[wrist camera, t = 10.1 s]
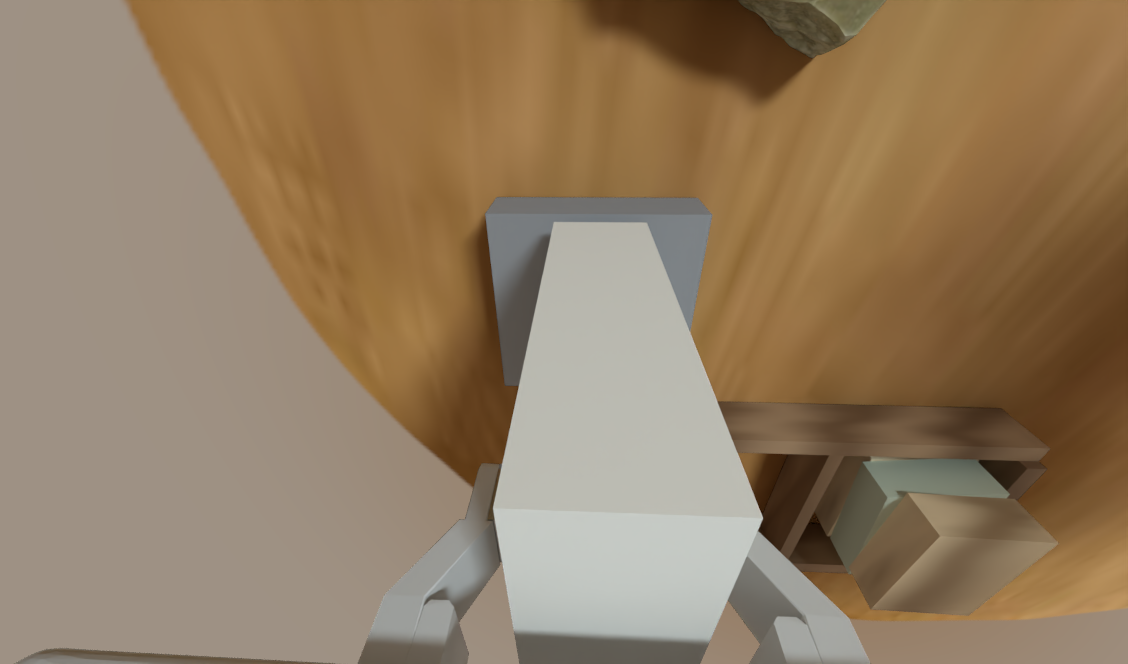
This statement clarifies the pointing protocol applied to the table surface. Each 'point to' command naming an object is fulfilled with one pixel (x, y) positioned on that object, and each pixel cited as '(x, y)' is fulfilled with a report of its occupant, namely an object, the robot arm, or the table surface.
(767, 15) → the decorative tile
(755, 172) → the table surface
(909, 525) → the offcut top
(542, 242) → the slate plinth
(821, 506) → the block
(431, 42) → the table surface
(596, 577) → the tall white box
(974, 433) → the walnut rack
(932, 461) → the block
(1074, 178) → the table surface
